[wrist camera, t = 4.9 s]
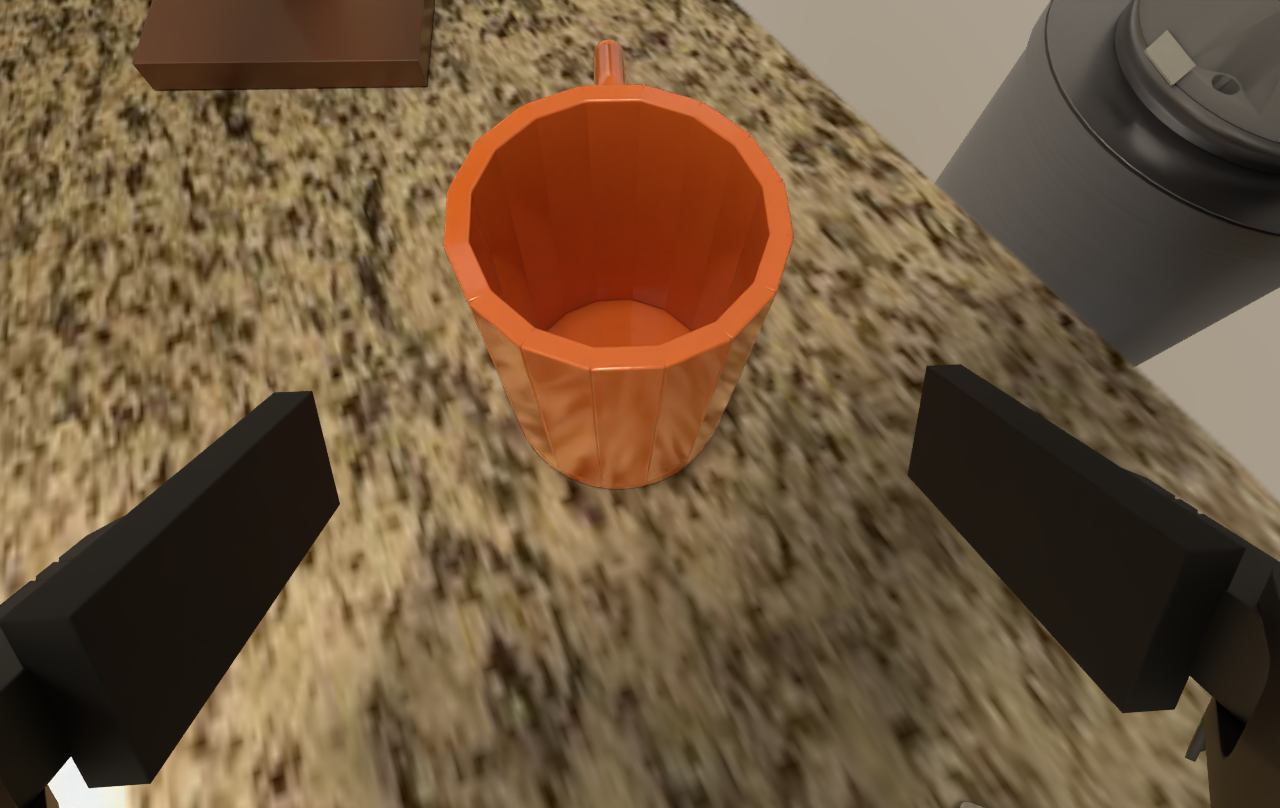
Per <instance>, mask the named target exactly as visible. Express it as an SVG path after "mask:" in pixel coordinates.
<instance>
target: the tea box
mask: <svg viewBox="0 0 1280 808" xmlns="http://www.w3.org/2000/svg"><path fill="white" fill-rule="evenodd" d="M960 808H984V807H981V806H978V805H975V804H972V803H969V802H962V803H961V806H960Z"/></svg>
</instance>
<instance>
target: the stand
mask: <svg viewBox="0 0 1280 808" xmlns="http://www.w3.org/2000/svg"><path fill="white" fill-rule="evenodd" d="M434 2H435V0H153V1H152V4H151V7H150V10H149V13H148V16H147V19H146V22H145V26H144V29H143V32H142V35H141V38H140V41H139V44H138V47H137V50H136V53H135V57H134V60H133V65H134V66H135V67H136V69H137V70H138V71H139V72H140V73H141V75H142V76H143V77H144V78H145V79H146V81H147V82H148V83H149V84H150V86H151V87H152V88H153V89H154V90H179V89H254V88H328V87H402V86H427V80H428V69H429V58H430V46H431V35H432V24H433V13H434Z"/></svg>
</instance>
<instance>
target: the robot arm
mask: <svg viewBox="0 0 1280 808" xmlns="http://www.w3.org/2000/svg"><path fill="white" fill-rule="evenodd" d="M1115 47H1116V54H1117V57H1118V61H1119V64H1120V67H1121V69H1122V72H1123V74H1124V76H1125V78H1126V79H1127V81H1128V83H1129V85H1130V86H1131V88H1132V89H1133V91H1134V92H1135V94H1136V95H1137V96H1138V97H1139V99H1140V100H1141V101H1142V102H1143V104H1144V105H1145V106H1146V107H1147V108H1148V109H1149V110H1150V111H1151V112H1152V113H1153V114H1154V115H1155V116H1156V117H1157V118H1158V119H1159V120H1160V121H1162V122H1163V123H1164V124H1165V125H1166V126H1168V127H1169V128H1170V129H1172V130H1173V131H1174V132H1176V133H1177V134H1178V135H1180V136H1181V137H1183V138H1184V139H1186V140H1187V141H1189V142H1191V143H1192V144H1194V145H1196V146H1197V147H1199V148H1201V149H1203V150H1205V151H1207V152H1209V153H1211V154H1213V155H1215V156H1217V157H1219V158H1222V159H1224V160H1227V161H1229V162H1232V163H1235V164H1237V165H1240V166H1243V167H1247V168H1250V169H1253V170H1257V171H1262V172H1266V173H1271V174H1277V175H1280V0H1131V1H1130V3H1129V4H1128V5H1127V7H1126V8H1125V9H1124V11H1123V12H1122V14H1121V16H1120V18H1119V21H1118V24H1117V27H1116V34H1115ZM908 476H909V477H910V479H911V480H912V481H913V482H914V483H915V484H916V485H917V486H918V487H919V489H920V490H921V491H922V492H923V493H924V494H925V495H926V496H927V497H928V498H929V500H930V501H931V502H932V503H933V504H934V505H935V506H936V507H937V508H938V510H939V511H940V512H941V513H942V514H943V515H944V516H945V517H946V518H947V520H948V521H949V522H950V523H951V524H952V525H953V526H954V527H955V528H956V529H957V531H958V532H959V533H960V534H961V535H962V536H963V537H964V538H965V539H966V541H967V542H968V543H969V544H970V545H971V546H972V547H973V548H974V549H975V550H976V552H977V553H978V554H979V555H980V556H981V557H982V558H983V559H984V560H985V562H986V563H987V564H988V565H989V566H990V567H991V568H992V569H993V570H994V572H995V573H996V574H997V575H998V576H999V577H1000V578H1001V579H1002V580H1003V581H1004V583H1005V584H1006V585H1007V586H1008V587H1009V588H1010V589H1011V590H1012V591H1013V593H1014V594H1015V595H1016V596H1017V597H1018V598H1019V599H1020V600H1021V601H1022V603H1023V604H1024V605H1025V606H1026V607H1027V608H1028V609H1029V610H1030V611H1031V612H1032V614H1033V615H1034V616H1035V617H1036V618H1037V619H1038V620H1039V621H1040V622H1041V624H1042V625H1043V626H1044V627H1045V628H1046V629H1047V630H1048V631H1049V632H1050V633H1051V635H1052V636H1053V637H1054V638H1055V639H1056V640H1057V641H1058V642H1059V643H1060V645H1061V646H1062V647H1063V648H1064V649H1065V650H1066V651H1067V652H1068V653H1069V655H1070V656H1071V657H1072V658H1073V659H1074V660H1075V661H1076V662H1077V663H1078V664H1079V666H1080V667H1081V668H1082V669H1083V670H1084V671H1085V672H1086V673H1087V674H1088V676H1089V677H1090V678H1091V679H1092V680H1093V681H1094V682H1095V683H1096V684H1097V686H1098V687H1099V688H1100V689H1101V690H1102V691H1103V692H1104V693H1105V694H1106V695H1107V697H1108V698H1109V699H1110V700H1111V701H1112V702H1113V703H1114V704H1115V705H1116V707H1117V708H1118V709H1119V710H1120V711H1121V712H1122V713H1131V712H1145V711H1159V710H1173V709H1175V707H1176V705H1177V703H1178V700H1179V698H1180V696H1181V694H1182V691H1183V689H1184V687H1185V685H1186V682H1187V680H1188V678H1189V676H1191V677H1192V678H1193V679H1194V680H1195V681H1196V682H1197V683H1198V684H1200V685H1201V686H1202V687H1203V688H1204V689H1205V690H1206V691H1207V692H1208V693H1209V694H1210V695H1211V696H1212V698H1211V700H1210V703H1209V705H1208V707H1207V709H1206V711H1205V713H1204V715H1203V717H1202V719H1201V722H1200V724H1199V726H1198V728H1197V730H1196V732H1195V734H1194V736H1193V738H1192V741H1191V743H1190V745H1189V747H1188V750H1187V753H1186V756H1185V758H1187V759H1190V760H1192V761H1194V762H1195V761H1196V759H1197V757H1198V755H1199V753H1200V752H1201V751H1205V750H1206V755H1207V767H1208V779H1209V790H1210V802H1211V808H1280V562H1279V561H1277V560H1276V559H1274V558H1272V557H1271V556H1269V555H1268V554H1266V553H1264V552H1263V551H1261V550H1260V549H1258V548H1257V547H1255V546H1253V545H1252V544H1250V543H1249V542H1247V541H1245V540H1244V539H1242V538H1241V537H1239V536H1238V535H1236V534H1234V533H1233V532H1231V531H1230V530H1228V529H1227V528H1225V527H1223V526H1222V525H1220V524H1219V523H1217V522H1215V521H1214V520H1212V519H1211V518H1209V517H1208V516H1206V515H1204V514H1198V510H1196V509H1195V508H1193V507H1192V506H1190V505H1189V504H1187V503H1185V502H1184V501H1182V500H1181V499H1175V496H1174V495H1173V494H1171V493H1170V492H1168V491H1166V490H1165V489H1163V488H1162V487H1160V486H1159V485H1157V484H1155V483H1154V482H1152V481H1151V480H1149V479H1147V478H1145V477H1143V476H1140V475H1138V474H1135V473H1133V472H1130V471H1128V470H1126V469H1123V468H1121V467H1119V466H1118V465H1116V464H1115V463H1113V462H1112V461H1110V460H1108V459H1107V458H1105V457H1104V456H1102V455H1101V454H1099V453H1098V452H1096V451H1094V450H1093V449H1091V448H1090V447H1088V446H1087V445H1085V444H1084V443H1082V442H1080V441H1079V440H1077V439H1076V438H1074V437H1073V436H1071V435H1070V434H1068V433H1066V432H1065V431H1063V430H1062V429H1060V428H1059V427H1057V426H1056V425H1054V424H1053V423H1051V422H1049V421H1048V420H1046V419H1045V418H1043V417H1042V416H1040V415H1039V414H1037V413H1035V412H1034V411H1032V410H1031V409H1029V408H1028V407H1026V406H1025V405H1023V404H1021V403H1020V402H1018V401H1017V400H1015V399H1014V398H1012V397H1011V396H1009V395H1007V394H1006V393H1004V392H1003V391H1001V390H1000V389H998V388H997V387H995V386H993V385H992V384H990V383H989V382H987V381H986V380H984V379H983V378H981V377H979V376H978V375H976V374H975V373H973V372H972V371H970V370H969V369H967V368H965V367H964V366H962V365H961V364H959V365H935V366H927V368H926V373H925V379H924V385H923V391H922V396H921V402H920V408H919V413H918V419H917V425H916V431H915V436H914V442H913V448H912V453H911V459H910V465H909V471H908ZM339 505H340V502H339V498H338V494H337V490H336V486H335V482H334V478H333V474H332V470H331V466H330V462H329V457H328V453H327V449H326V445H325V441H324V437H323V433H322V429H321V425H320V421H319V417H318V413H317V408H316V404H315V400H314V396H313V392H312V391H301V392H276V393H273V394H272V395H271V396H270V397H268V398H267V399H266V400H265V401H264V402H262V403H261V404H260V405H259V406H257V407H256V408H255V409H254V410H253V411H251V412H250V413H249V414H248V415H247V416H245V417H244V418H243V419H242V420H240V421H239V422H238V423H237V424H236V425H234V426H233V427H232V428H231V429H230V430H228V431H227V432H226V433H225V434H224V435H222V436H221V437H220V438H219V439H217V440H216V441H215V442H214V443H213V444H211V445H210V446H209V447H208V448H207V449H205V450H204V451H203V452H202V453H201V454H199V455H198V456H197V457H196V458H194V459H193V460H192V461H191V462H190V463H188V464H187V465H186V466H185V467H184V468H182V469H181V470H180V471H179V472H178V473H176V474H175V475H174V476H173V477H171V478H170V479H169V480H168V481H167V482H165V483H164V484H163V485H162V486H161V487H159V488H158V489H157V490H156V491H154V492H153V493H152V494H151V495H150V496H148V497H147V498H146V499H145V500H144V501H142V502H141V503H140V504H139V505H138V506H136V507H135V508H134V509H133V510H131V511H130V512H129V513H128V514H127V515H125V516H123V517H121V518H119V519H117V520H115V521H114V522H112V523H110V524H108V525H106V526H104V527H102V528H100V529H98V530H97V531H95V532H93V533H91V534H89V535H87V536H86V537H84V538H83V539H82V540H81V541H79V542H78V543H77V544H76V545H74V546H73V547H72V548H71V549H69V550H68V551H67V552H66V553H65V554H63V555H62V556H61V557H60V558H59V562H53V563H52V564H51V565H50V566H48V567H47V568H46V569H45V570H43V571H42V572H41V573H40V574H38V575H37V576H36V580H35V581H30V582H28V583H27V584H26V585H25V586H23V587H22V588H21V589H20V590H18V591H17V592H16V593H15V594H13V595H12V596H11V597H10V598H8V599H7V600H6V601H5V602H3V603H2V604H1V605H0V808H59V804H58V802H57V800H56V798H55V797H54V795H53V793H52V792H51V790H50V788H49V786H48V785H47V784H48V783H49V782H50V781H51V779H52V778H53V777H54V776H55V775H56V773H57V772H58V771H59V770H60V769H61V767H62V766H63V765H64V764H65V763H66V761H67V760H68V759H69V758H70V757H72V759H73V760H74V762H75V764H76V766H77V768H78V769H79V771H80V773H81V775H82V777H83V779H84V780H85V782H86V784H87V786H88V788H97V787H111V786H125V785H138V784H151V782H152V781H153V779H154V778H155V776H156V775H157V773H158V772H159V771H160V769H161V768H162V766H163V765H164V763H165V762H166V760H167V759H168V757H169V756H170V754H171V753H172V751H173V750H174V748H175V747H176V745H177V744H178V742H179V741H180V740H181V738H182V737H183V735H184V734H185V732H186V731H187V729H188V728H189V726H190V725H191V723H192V722H193V720H194V719H195V717H196V716H197V714H198V713H199V711H200V710H201V708H202V707H203V706H204V704H205V703H206V701H207V700H208V698H209V697H210V695H211V694H212V692H213V691H214V689H215V688H216V686H217V685H218V683H219V682H220V680H221V679H222V677H223V676H224V675H225V673H226V672H227V670H228V669H229V667H230V666H231V664H232V663H233V661H234V660H235V658H236V657H237V655H238V654H239V652H240V651H241V649H242V648H243V646H244V645H245V644H246V642H247V641H248V639H249V638H250V636H251V635H252V633H253V632H254V630H255V629H256V627H257V626H258V624H259V623H260V621H261V620H262V618H263V617H264V615H265V614H266V612H267V611H268V610H269V608H270V607H271V605H272V604H273V602H274V601H275V599H276V598H277V596H278V595H279V593H280V592H281V590H282V589H283V587H284V586H285V584H286V583H287V581H288V580H289V579H290V577H291V576H292V574H293V573H294V571H295V570H296V568H297V567H298V565H299V564H300V562H301V561H302V559H303V558H304V556H305V555H306V553H307V552H308V550H309V549H310V548H311V546H312V545H313V543H314V542H315V540H316V539H317V537H318V536H319V534H320V533H321V531H322V530H323V528H324V527H325V525H326V524H327V522H328V521H329V519H330V518H331V517H332V515H333V514H334V512H335V511H336V509H337V508H338V506H339Z"/></svg>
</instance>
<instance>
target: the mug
mask: <svg viewBox="0 0 1280 808" xmlns="http://www.w3.org/2000/svg"><path fill="white" fill-rule="evenodd" d="M593 64H594V85H584V86H578V87H575V88H572V89H569V90H566V91H563V92H560V93H557V94H554V95H551V96H548V97H545V98H541V99H538V100H535V101H532V102H529V103H526V104H525V106H521V107H519V108H518V109H517V110H516V111H514V112H513V113H512V114H510V115H509V116H508V117H506V118H505V119H504V120H502V121H501V122H500V123H498V124H497V125H496V126H494V127H493V128H492V129H490V130H489V131H488V132H487V133H485V134H484V135H483V136H481V137H480V138H479V139H478V141H476V142H475V144H474V145H473V147H472V149H471V151H470V152H469V154H468V156H467V157H466V159H465V161H464V163H463V164H462V166H461V168H460V169H459V171H458V173H457V175H456V176H455V178H454V180H453V181H452V183H451V185H450V187H449V190H448V191H447V202H446V217H445V232H444V250H445V252H446V254H447V257H448V259H449V261H450V264H451V266H452V268H453V271H454V273H455V275H456V278H457V280H458V282H459V285H460V287H461V289H462V291H463V294H464V296H465V298H466V301H467V303H468V305H469V308H470V310H471V312H472V315H473V317H474V319H475V322H476V324H477V326H478V329H479V331H480V333H481V336H482V338H483V340H484V343H485V345H486V347H487V350H488V352H489V354H490V357H491V359H492V361H493V364H494V366H495V368H496V370H497V373H498V375H499V377H500V380H501V382H502V384H503V387H504V389H505V391H506V394H507V396H508V398H509V401H510V403H511V405H512V408H513V410H514V412H515V414H516V417H517V419H518V421H519V424H520V426H521V428H522V431H523V433H524V435H525V437H526V440H528V442H529V443H530V444H531V446H532V447H533V448H534V450H535V451H536V452H537V453H538V454H539V455H540V456H541V457H542V458H543V460H544V461H545V462H547V463H548V464H549V465H551V466H552V467H553V468H554V469H556V470H557V471H559V472H560V473H562V474H564V475H565V476H567V477H569V478H572V479H574V480H576V481H579V482H581V483H584V484H588V485H591V486H595V487H602V488H609V489H627V488H636V487H641V486H645V485H649V484H653V483H655V482H658V481H661V480H663V479H666V478H667V477H669V476H671V475H673V474H675V473H677V472H678V471H679V470H681V469H682V468H684V467H685V466H686V465H688V464H689V463H690V462H691V461H692V460H693V459H694V458H695V457H696V456H697V455H698V454H699V453H700V452H701V450H702V449H703V448H704V446H705V445H706V444H707V442H708V440H709V439H710V438H711V436H712V435H713V434H714V432H715V431H716V428H717V426H718V424H719V422H720V419H721V417H722V415H723V413H724V410H725V408H726V406H727V404H728V401H729V399H730V397H731V395H732V392H733V390H734V388H735V386H736V383H737V381H738V379H739V377H740V374H741V372H742V370H743V368H744V365H745V363H746V361H747V359H748V356H749V354H750V352H751V350H752V347H753V345H754V343H755V341H756V338H757V336H758V334H759V332H760V329H761V327H762V325H763V323H764V320H765V318H766V316H767V314H768V311H769V309H770V307H771V305H772V302H773V300H774V298H775V296H776V293H777V291H778V288H779V285H780V281H781V278H782V275H783V272H784V269H785V265H786V262H787V259H788V256H789V253H790V249H791V246H792V243H793V237H794V235H793V229H792V223H791V217H790V211H789V206H788V200H787V194H786V188H785V183H783V180H782V178H781V177H780V175H779V174H778V172H777V171H776V170H775V168H774V167H773V165H772V164H771V162H770V161H769V159H768V158H767V156H766V155H765V154H764V152H763V151H762V149H761V148H760V146H759V145H758V143H757V142H756V141H755V139H754V138H753V137H752V136H751V135H750V134H749V133H748V132H746V131H745V130H744V129H742V128H741V127H739V126H738V125H736V124H735V123H733V122H732V121H730V120H729V119H727V118H726V117H725V116H723V115H722V114H720V113H719V112H717V111H716V110H714V109H713V108H711V107H710V106H708V105H707V104H706V103H702V102H701V101H699V100H695V99H692V98H689V97H685V96H682V95H678V94H675V93H671V92H668V91H664V90H661V89H658V88H654V87H651V86H647V85H645V86H643V85H642V84H641V85H626V74H625V58H624V52H623V49H622V47H621V46H620V44H618V43H617V42H616V41H614V40H610V39H607V40H603V41H601V42H600V43H599V44H598V45H597V46H596V48H595V50H594V54H593Z"/></svg>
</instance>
